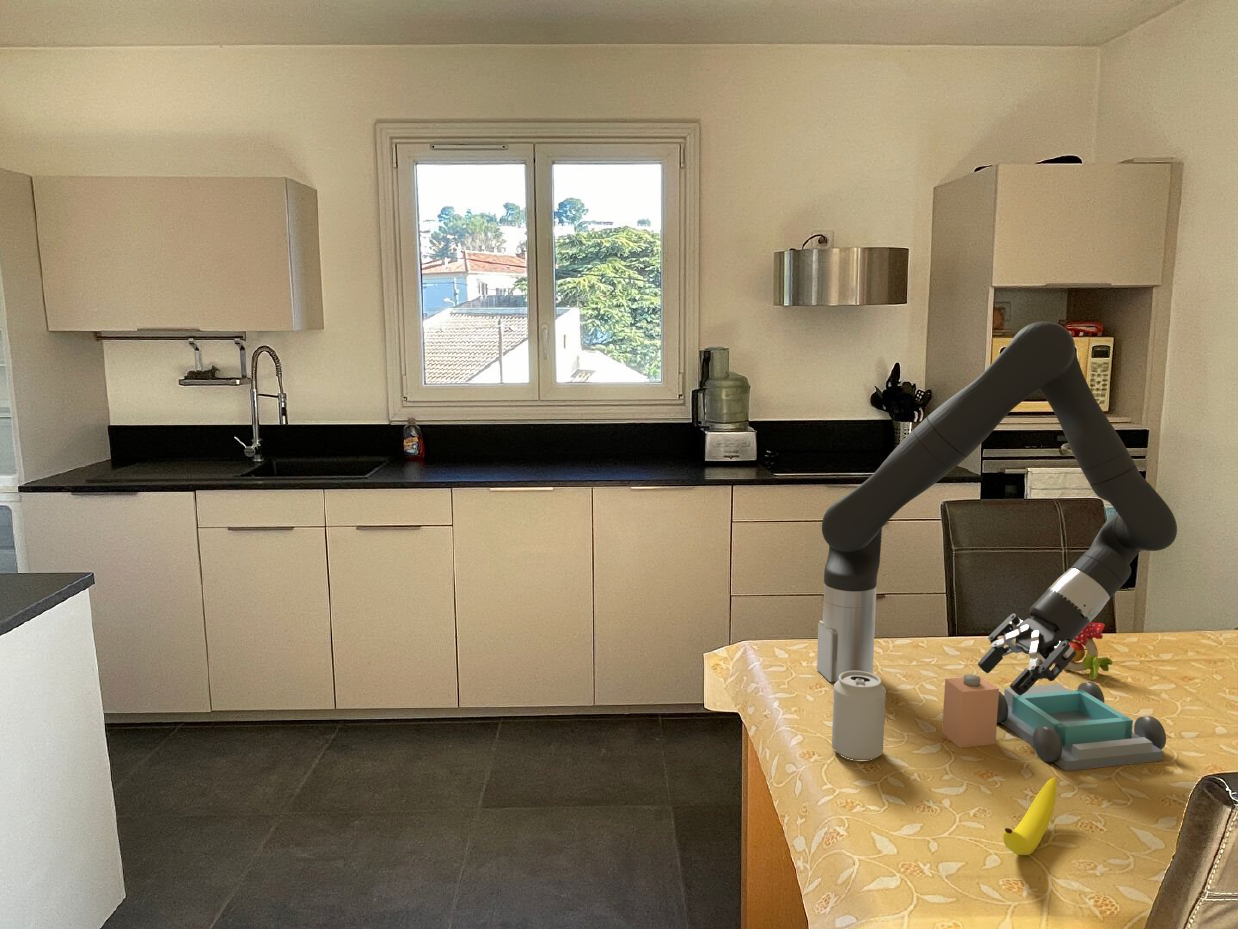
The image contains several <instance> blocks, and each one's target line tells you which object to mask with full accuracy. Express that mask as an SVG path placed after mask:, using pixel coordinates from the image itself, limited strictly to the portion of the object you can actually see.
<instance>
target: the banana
mask: <svg viewBox="0 0 1238 929" xmlns="http://www.w3.org/2000/svg"><path fill="white" fill-rule="evenodd" d="M1056 796H1057V777H1055V776H1053V777H1051V778H1050V779H1048V781H1047V782H1046V783H1045V784H1044V785H1043V786H1042V788H1041V789H1040V790H1039V791H1038V793H1037V795H1036V796H1035V798H1034V799H1033V801H1032V803H1031V805H1030V806H1029V808H1028V809H1027V811H1026V813H1025V814H1024V816H1023V817H1022V819H1021V820H1020V822H1019V823H1018V825H1017V826H1016V827H1015V828H1014V829H1011V828H1008V827H1005V828H1004V831H1003V833H1002V839H1003V842H1004V846H1005V847H1006V849H1008V850H1010V851H1011V852H1013V853H1014V854H1015V855H1017V856H1030V855H1031V854H1033V853H1034V852H1035V850H1036V849H1037V847H1038V846H1039V844H1040V842H1041V840H1042V839H1043V837H1044V835H1045V833H1046V830H1047V828H1048V827H1049V824H1050V822H1051V820H1052V817H1053V814H1054V812H1055V811H1054V810H1055V806H1056V798H1057V797H1056Z"/></svg>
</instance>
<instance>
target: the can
mask: <svg viewBox="0 0 1238 929" xmlns="http://www.w3.org/2000/svg"><path fill="white" fill-rule="evenodd" d="M838 678H839V680H838V681H837V682H834V684H833V701H832V726H831V729H832V730H831V746H832V749H833V750H834V751H835V752H836V753H837V754H838V753H839V754H840V755H842V756H844V757H846V758H849V759H853V760H871V759H874V758H875V759H876V758H878V757H879V756H880V755H882V753H883V752H884V739H885V737H884V736H885V735H884V734H885V719H886V718H885V715H886V714H885V713H886V697H887V696H886V695H887V694H886V693H887V691H886V688H885V687H884V686H883V684H882V682H883V681H882V679H881V678H880V677H879V675H877V674H874V673H873V674H872V673H869V672H864V671H847V672H843V673H841V674H840V675H839V676H838ZM839 754H838V755H839ZM840 755H839V756H840ZM842 756H841V757H842ZM875 759H874V760H875Z"/></svg>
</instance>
